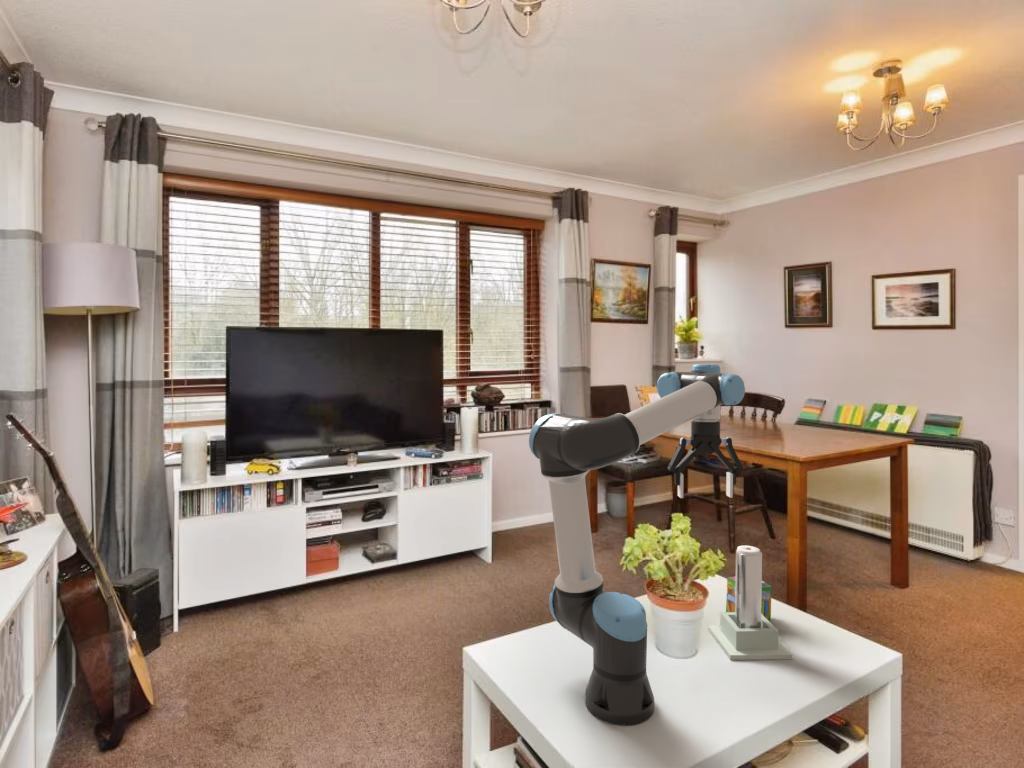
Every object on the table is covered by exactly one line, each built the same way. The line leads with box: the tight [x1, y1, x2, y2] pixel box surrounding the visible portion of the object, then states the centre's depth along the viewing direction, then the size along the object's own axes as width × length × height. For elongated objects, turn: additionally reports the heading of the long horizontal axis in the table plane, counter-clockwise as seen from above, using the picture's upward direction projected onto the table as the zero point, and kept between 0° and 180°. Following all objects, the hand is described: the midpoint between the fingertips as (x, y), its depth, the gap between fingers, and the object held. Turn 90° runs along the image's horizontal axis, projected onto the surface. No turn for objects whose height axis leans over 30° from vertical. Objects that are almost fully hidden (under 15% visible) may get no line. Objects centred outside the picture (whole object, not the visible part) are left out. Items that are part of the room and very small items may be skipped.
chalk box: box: [725, 576, 773, 624], centre depth 169 cm, size 9×9×15 cm
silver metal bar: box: [735, 545, 763, 629], centre depth 155 cm, size 6×6×25 cm
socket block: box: [707, 611, 793, 661], centre depth 155 cm, size 16×16×6 cm
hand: (704, 496), depth 159 cm, fingers open, 13 cm apart
